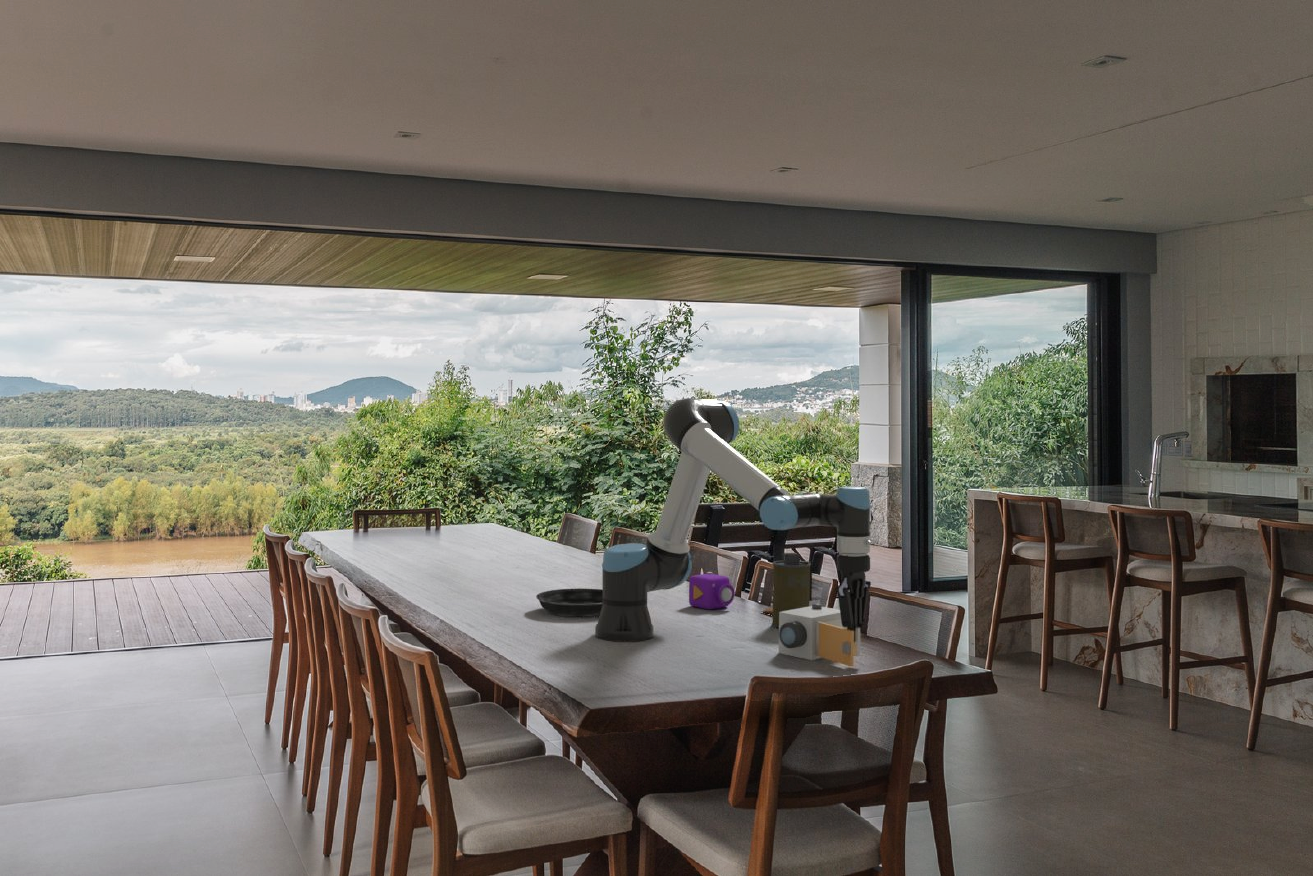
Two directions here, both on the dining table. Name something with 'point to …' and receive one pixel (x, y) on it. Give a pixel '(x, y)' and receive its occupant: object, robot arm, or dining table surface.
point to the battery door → (835, 643)
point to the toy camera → (710, 591)
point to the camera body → (804, 629)
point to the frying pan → (572, 602)
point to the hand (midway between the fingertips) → (853, 655)
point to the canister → (791, 585)
